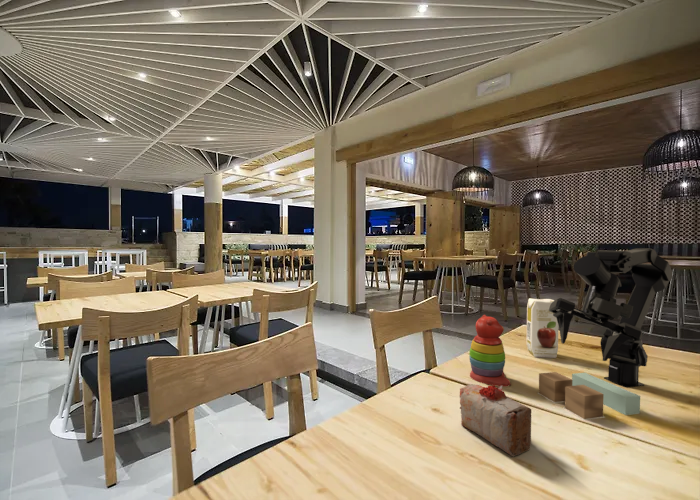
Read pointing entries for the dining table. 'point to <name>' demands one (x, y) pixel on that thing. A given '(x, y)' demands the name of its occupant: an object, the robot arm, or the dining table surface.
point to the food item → (496, 418)
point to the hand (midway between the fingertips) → (583, 351)
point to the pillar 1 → (553, 385)
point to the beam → (610, 393)
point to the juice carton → (541, 329)
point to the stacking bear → (488, 353)
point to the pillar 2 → (584, 401)
